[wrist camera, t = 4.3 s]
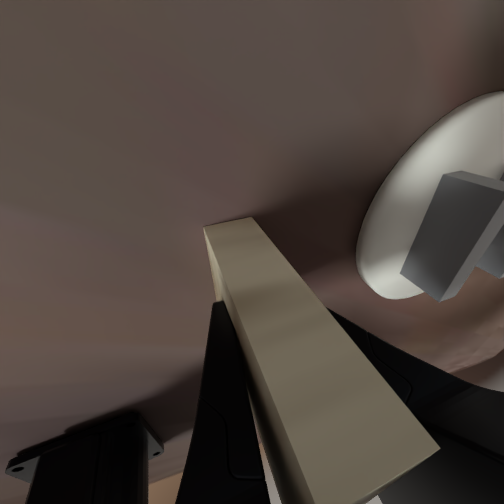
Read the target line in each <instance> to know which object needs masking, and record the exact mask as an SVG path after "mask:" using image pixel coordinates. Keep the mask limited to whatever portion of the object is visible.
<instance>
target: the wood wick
mask: <svg viewBox="0 0 504 504" xmlns="http://www.w3.org/2000/svg"><path fill="white" fill-rule="evenodd" d="M203 228H204V234H205V239H206V245H207V250H208V256H209V261H210V267H211V272H212V278H213V283H214V288H215V294H216V299H217V301H221V300H223V301H224V303H225V305H226V308H227V310H228V313H229V315H230V318H231V320H232V323H233V325H234V328H235V330H236V334H237V339H238V344H239V349H240V354H241V359H242V364H243V369H244V374H245V379H246V384H247V389H248V394H249V399H250V404H251V409H252V413H253V416H254V419H255V422H256V426H257V429H258V432H259V435H260V438H261V441H262V444H263V447H264V450H265V453H266V456H267V460H268V463H269V466H270V469H271V472H272V475H273V478H274V481H275V484H276V487H277V490H278V494H279V497H280V500H281V503H282V504H366V503H367V502H368V501H370V500H371V499H372V498H374V497H375V496H377V495H378V494H379V493H381V492H382V491H383V490H385V489H386V488H387V487H389V486H390V485H391V484H393V483H394V482H396V481H397V480H398V479H400V478H401V477H402V476H404V475H405V474H406V473H408V472H409V471H411V470H412V469H413V468H415V467H416V466H417V465H419V464H420V463H421V462H423V461H424V460H426V459H427V458H428V457H430V456H431V455H432V454H434V453H435V452H436V451H438V450H439V449H441V448H440V447H439V446H438V444H437V443H436V442H435V441H434V440H433V438H432V437H431V436H430V435H429V433H428V432H427V431H426V430H425V429H424V427H423V426H422V425H421V424H420V422H419V421H418V420H417V419H416V418H415V416H414V415H413V414H412V413H411V411H410V410H409V409H408V408H407V407H406V405H405V404H404V403H403V402H402V400H401V399H400V398H399V397H398V396H397V394H396V393H395V392H394V391H393V389H392V388H391V387H390V386H389V384H388V383H387V382H386V381H385V380H384V378H383V377H382V376H381V375H380V373H379V372H378V371H377V370H376V369H375V367H374V366H373V365H372V364H371V362H370V361H369V360H368V359H367V358H366V356H365V355H364V354H363V353H362V351H361V350H360V349H359V348H358V347H357V345H356V344H355V343H354V342H353V340H352V339H351V338H350V337H349V336H348V334H347V333H346V332H345V331H344V329H343V328H342V327H341V326H340V325H339V323H338V322H337V321H336V320H335V318H334V317H333V316H332V315H331V314H330V312H329V311H328V310H327V309H326V307H325V306H324V305H323V304H322V302H321V301H320V300H319V299H318V298H317V296H316V295H315V294H314V293H313V291H312V290H311V289H310V288H309V287H308V285H307V284H306V283H305V282H304V280H303V279H302V278H301V277H300V276H299V274H298V273H297V272H296V271H295V269H294V268H293V267H292V266H291V265H290V263H289V262H288V261H287V260H286V258H285V257H284V256H283V255H282V254H281V252H280V251H279V250H278V249H277V247H276V246H275V245H274V244H273V243H272V241H271V240H270V239H269V238H268V236H267V235H266V234H265V233H264V232H263V230H262V229H261V228H260V227H259V225H258V224H257V223H256V222H255V221H254V219H253V218H252V217H249V218H244V219H239V220H234V221H229V222H224V223H219V224H214V225H209V226H204V227H203Z"/></svg>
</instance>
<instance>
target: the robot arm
mask: <svg viewBox="0 0 504 504" xmlns="http://www.w3.org/2000/svg"><path fill="white" fill-rule="evenodd" d="M326 309H327V310H328V311H329V312H330V314H331V315H332V316H333V317H334V318H335V320H336V321H337V322H338V323H339V325H340V326H341V327H342V328H343V329H344V331H345V332H346V333H347V334H348V336H349V337H350V338H351V339H352V340H353V342H354V343H355V344H356V345H357V347H358V348H359V349H360V350H361V351H362V353H363V354H364V355H365V356H366V358H367V359H368V360H369V361H370V362H371V364H372V365H373V366H374V367H375V369H376V370H377V371H378V372H379V373H380V375H381V376H382V377H383V378H384V380H385V381H386V382H387V383H388V384H389V386H390V387H391V388H392V389H393V391H394V392H395V393H396V394H397V396H398V397H399V398H400V399H401V400H402V402H403V403H404V404H405V405H406V407H407V408H408V409H409V410H410V411H411V413H412V414H413V415H414V416H415V418H416V419H417V420H418V421H419V422H420V424H421V425H422V426H423V427H424V429H425V430H426V431H427V432H428V433H429V435H430V436H431V437H432V438H433V440H434V441H435V442H436V443H437V444H438V446H439V447H440V448H441V449H439V450H438V451H436V452H435V453H434V454H432V455H431V456H430V457H428V458H427V459H426V460H424V461H423V462H421V463H420V464H419V465H417V466H416V467H415V468H413V469H412V470H411V471H409V472H408V473H406V474H405V475H404V476H402V477H401V478H400V479H398V480H397V481H396V482H394V483H393V484H391V485H390V486H389V487H387V488H386V489H385V490H383V491H382V492H381V493H379V494H378V496H379V498H380V500H381V501H382V503H383V504H504V392H500V391H495V390H490V389H487V388H483V387H480V386H477V385H474V384H471V383H469V382H466V381H464V380H462V379H460V378H457V377H455V376H453V375H451V374H449V373H447V372H445V371H443V370H441V369H439V368H437V367H435V366H433V365H431V364H429V363H427V362H425V361H422V360H420V359H418V358H416V357H414V356H412V355H410V354H408V353H406V352H404V351H402V350H400V349H398V348H397V347H395V346H393V345H391V344H389V343H387V342H386V341H384V340H382V339H380V338H378V337H377V336H375V335H373V334H372V333H370V332H367V331H366V330H365V329H363V328H361V327H359V326H358V325H356V324H354V323H353V322H351V321H349V320H347V319H346V318H344V317H342V316H341V315H339V314H337V313H335V312H334V311H332V310H330V309H329V308H327V307H326ZM163 452H164V444H163V443H162V442H161V440H160V439H159V438H158V436H157V435H156V434H155V433H154V431H153V430H152V429H151V428H150V426H149V425H148V424H147V422H146V421H145V420H144V419H143V417H142V416H141V415H140V414H139V413H131V414H127V415H125V416H122V417H120V418H117V419H114V420H112V421H109V422H106V423H104V424H101V425H99V426H96V427H93V428H91V429H88V430H86V431H83V432H80V433H78V434H75V435H72V436H70V437H67V438H65V439H62V440H59V441H57V442H54V443H52V444H49V445H46V446H44V447H41V448H38V449H36V450H33V451H31V452H28V453H25V454H23V455H20V456H18V457H15V458H13V459H11V460H10V461H9V463H8V465H7V468H6V471H5V473H6V474H8V475H10V476H13V477H15V478H18V479H21V480H23V481H26V482H28V483H31V485H30V488H29V492H28V495H27V498H26V502H25V504H148V460H150V459H152V458H155V457H157V456H159V455H161V454H162V453H163ZM175 504H271V503H270V498H269V494H268V489H267V484H266V481H265V474H264V469H263V464H262V460H261V454H260V449H259V444H258V439H257V434H256V429H255V424H254V419H253V414H252V409H251V404H250V399H249V394H248V389H247V384H246V379H245V374H244V369H243V364H242V359H241V354H240V349H239V344H238V339H237V334H236V330H235V328H234V325H233V323H232V320H231V318H230V315H229V313H228V310H227V308H226V305H225V303H224V301H223V300H221V301H217V302H214V303H213V306H212V313H211V319H210V326H209V333H208V339H207V346H206V353H205V359H204V366H203V373H202V379H201V386H200V393H199V399H198V405H197V411H196V417H195V423H194V428H193V434H192V439H191V443H190V447H189V451H188V456H187V460H186V464H185V468H184V472H183V476H182V479H181V483H180V487H179V491H178V495H177V499H176V502H175Z"/></svg>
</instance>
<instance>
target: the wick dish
mask: <svg viewBox="0 0 504 504" xmlns="http://www.w3.org/2000/svg"><path fill="white" fill-rule="evenodd" d="M356 265H357V269H358V273H359V275H360V276H361V278H362V280H363V281H364V282H365V283H366V284H367V285H368V286H370V287H371V288H372V289H373V290H374V291H375V292H376V293H378V294H379V295H381V296H382V297H385V298H388V299H403V298H408V297H412V296H415V295H418V294H420V293H423V292H426V293H427V294H428V295H430V296H431V297H433V298H434V299H435V300H437V301H438V302H441V301H444V300H446V299H449V298H451V297H454V296H456V294H457V293H458V291H459V290H460V288H461V287H462V285H463V284H464V282H465V281H466V279H467V278H468V276H469V275H470V273H471V272H472V270H473V269H474V267H475V266H477V267H479V268H481V269H482V270H484V271H486V272H488V273H490V274H492V275H494V276H496V277H497V278H499V279H500V278H502V277H504V91H498V92H492V93H487V94H484V95H481V96H479V97H476V98H473V99H471V100H469V101H468V102H466V103H464V104H462V105H460V106H458V107H457V108H455V109H454V110H452V111H451V112H449V113H448V114H447V115H445V116H444V117H442V118H441V119H440V120H439V121H437V122H436V123H435V124H434V125H433V126H431V127H430V128H429V129H428V130H427V131H426V132H425V133H424V134H423V135H422V136H421V137H420V138H419V139H418V140H417V141H416V142H415V143H414V144H413V145H412V146H411V147H410V148H409V149H408V150H407V152H406V153H405V154H404V155H403V156H402V157H401V158H400V160H399V161H398V162H397V164H396V165H395V166H394V168H393V169H392V170H391V172H390V173H389V174H388V176H387V177H386V179H385V180H384V182H383V183H382V185H381V187H380V188H379V190H378V191H377V193H376V195H375V197H374V199H373V201H372V202H371V204H370V206H369V209H368V211H367V213H366V215H365V218H364V220H363V223H362V226H361V229H360V232H359V236H358V241H357V246H356Z"/></svg>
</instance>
